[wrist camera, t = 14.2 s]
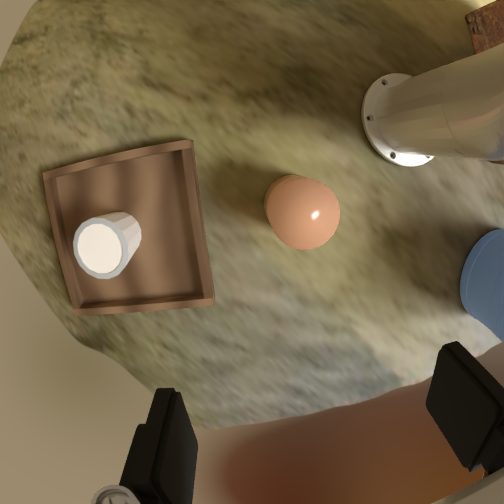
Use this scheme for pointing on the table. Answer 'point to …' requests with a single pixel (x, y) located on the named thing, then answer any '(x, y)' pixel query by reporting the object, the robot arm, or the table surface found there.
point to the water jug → (485, 282)
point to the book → (487, 29)
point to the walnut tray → (150, 221)
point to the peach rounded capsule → (301, 211)
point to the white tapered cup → (106, 244)
